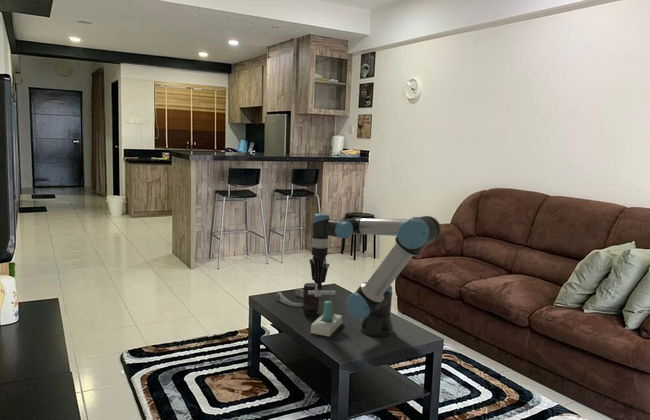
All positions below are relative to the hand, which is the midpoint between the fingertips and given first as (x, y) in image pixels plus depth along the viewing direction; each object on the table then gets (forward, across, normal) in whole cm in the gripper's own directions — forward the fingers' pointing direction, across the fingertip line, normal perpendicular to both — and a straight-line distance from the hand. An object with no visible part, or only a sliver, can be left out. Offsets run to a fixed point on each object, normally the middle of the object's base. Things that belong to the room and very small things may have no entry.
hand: (317, 296), depth 235 cm
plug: (+13, -6, -2) cm, 14 cm away
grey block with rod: (+14, -6, -2) cm, 15 cm away
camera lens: (+14, +14, -7) cm, 21 cm away
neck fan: (+14, +33, -11) cm, 37 cm away
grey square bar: (-1, +1, -3) cm, 3 cm away
